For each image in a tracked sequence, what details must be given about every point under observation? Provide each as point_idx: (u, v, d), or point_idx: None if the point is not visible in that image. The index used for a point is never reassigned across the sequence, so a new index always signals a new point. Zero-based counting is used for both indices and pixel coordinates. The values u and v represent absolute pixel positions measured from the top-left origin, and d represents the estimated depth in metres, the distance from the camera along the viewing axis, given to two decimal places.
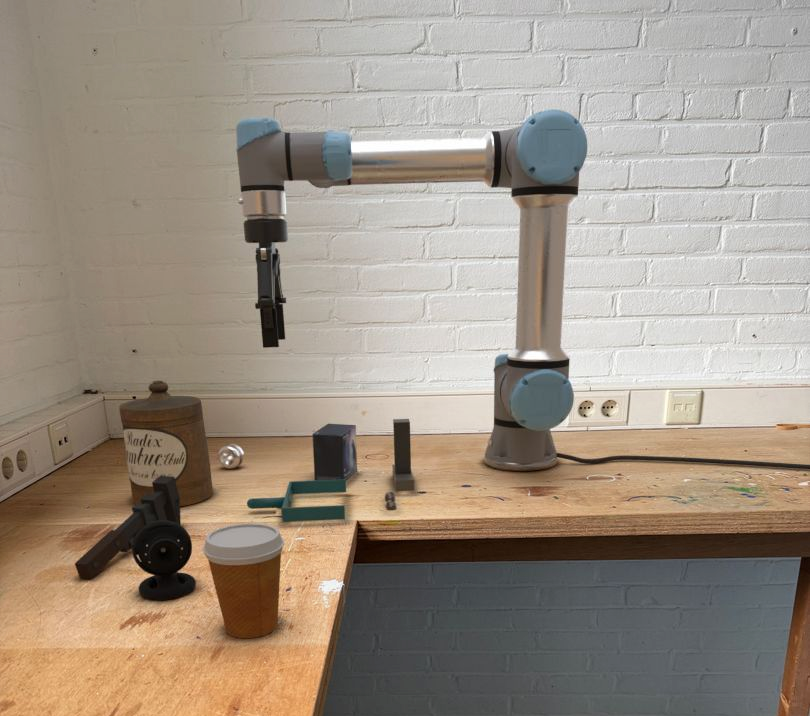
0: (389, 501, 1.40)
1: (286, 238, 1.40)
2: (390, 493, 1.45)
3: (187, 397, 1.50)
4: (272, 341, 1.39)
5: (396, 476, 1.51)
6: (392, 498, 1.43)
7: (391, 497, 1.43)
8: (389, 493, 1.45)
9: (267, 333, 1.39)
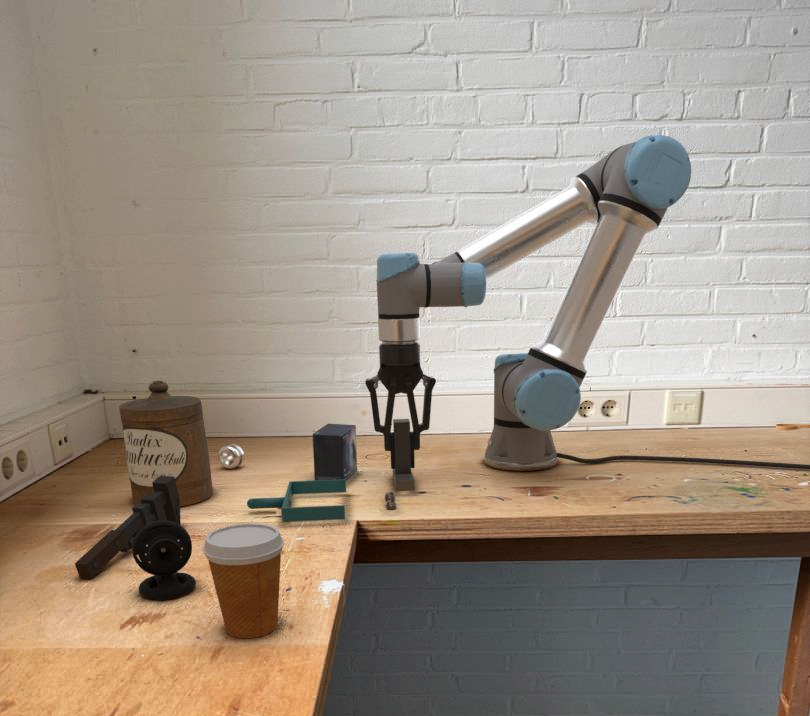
0: (389, 501, 1.40)
1: (395, 363, 1.44)
2: (390, 493, 1.45)
3: (187, 397, 1.50)
4: None
5: (396, 476, 1.51)
6: (392, 498, 1.43)
7: (391, 497, 1.43)
8: (389, 493, 1.45)
9: None
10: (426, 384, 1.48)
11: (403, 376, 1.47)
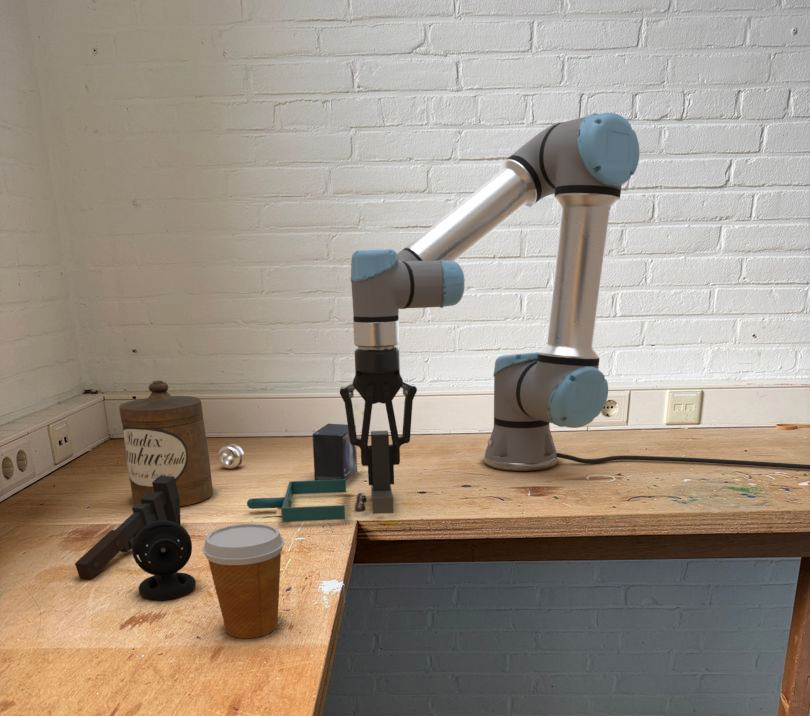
0: (359, 502, 1.40)
1: (372, 370, 1.31)
2: (364, 495, 1.45)
3: (187, 397, 1.50)
4: (368, 478, 1.40)
5: (374, 494, 1.38)
6: (364, 501, 1.43)
7: (364, 500, 1.43)
8: (363, 495, 1.45)
9: None
10: (406, 393, 1.35)
11: (381, 384, 1.34)
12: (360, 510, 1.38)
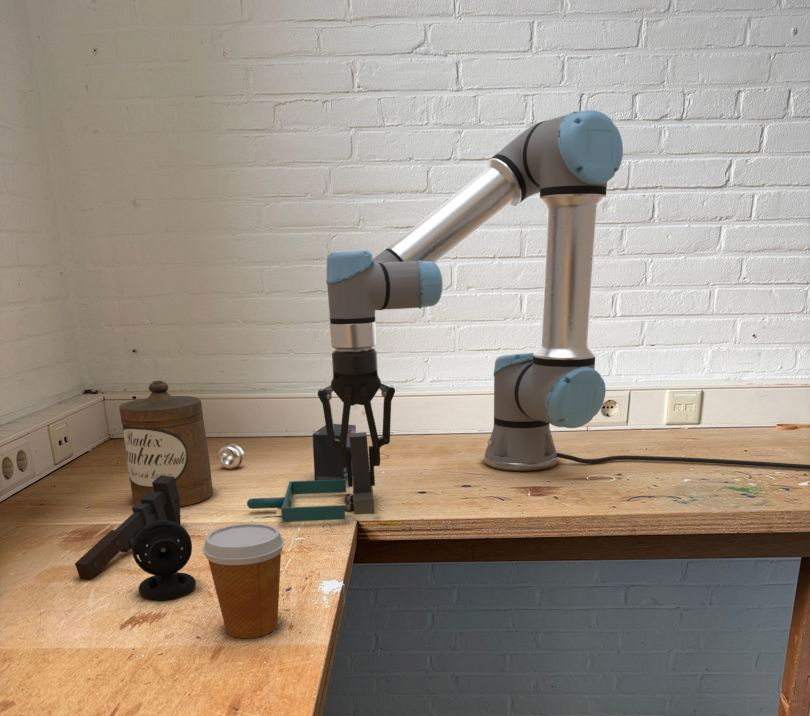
0: None
1: (349, 372, 1.31)
2: None
3: (187, 397, 1.50)
4: None
5: (355, 496, 1.38)
6: (346, 501, 1.43)
7: (345, 502, 1.43)
8: (344, 500, 1.45)
9: None
10: (384, 394, 1.35)
11: (359, 386, 1.34)
12: None
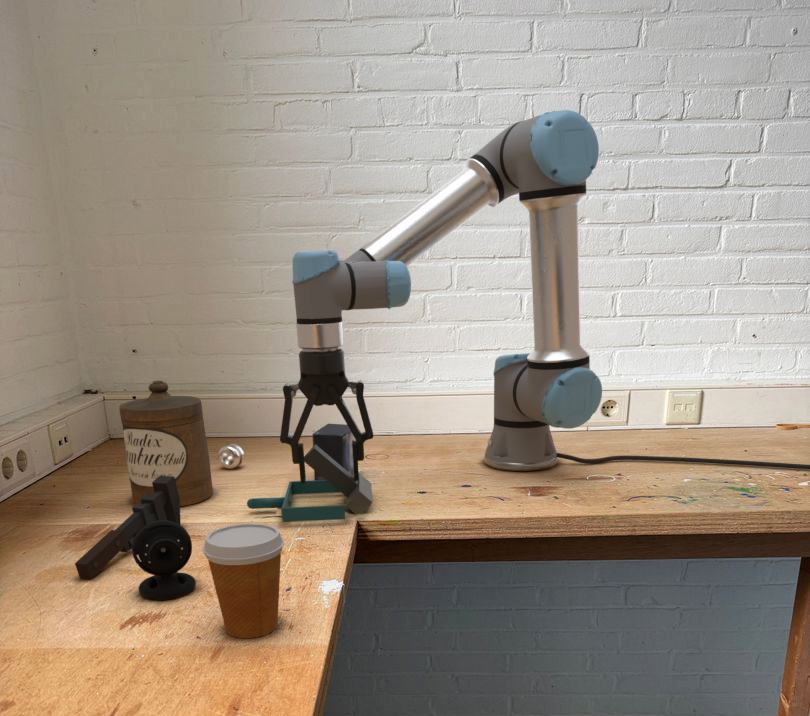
0: None
1: (315, 372, 1.31)
2: (345, 498, 1.45)
3: (187, 397, 1.50)
4: None
5: (347, 499, 1.38)
6: None
7: None
8: (345, 499, 1.45)
9: None
10: (354, 391, 1.34)
11: (326, 388, 1.34)
12: (348, 511, 1.38)
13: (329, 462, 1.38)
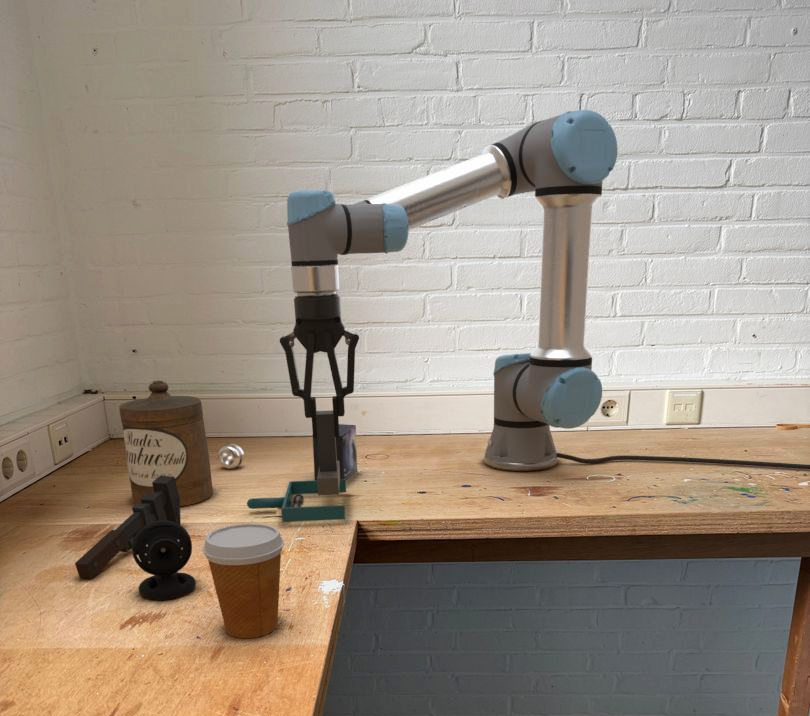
0: (299, 505, 1.39)
1: (311, 317, 1.28)
2: (302, 498, 1.44)
3: (187, 397, 1.50)
4: None
5: (320, 474, 1.37)
6: (301, 503, 1.42)
7: (301, 502, 1.42)
8: (301, 497, 1.44)
9: None
10: (348, 341, 1.32)
11: (322, 332, 1.31)
12: None
13: (333, 434, 1.36)
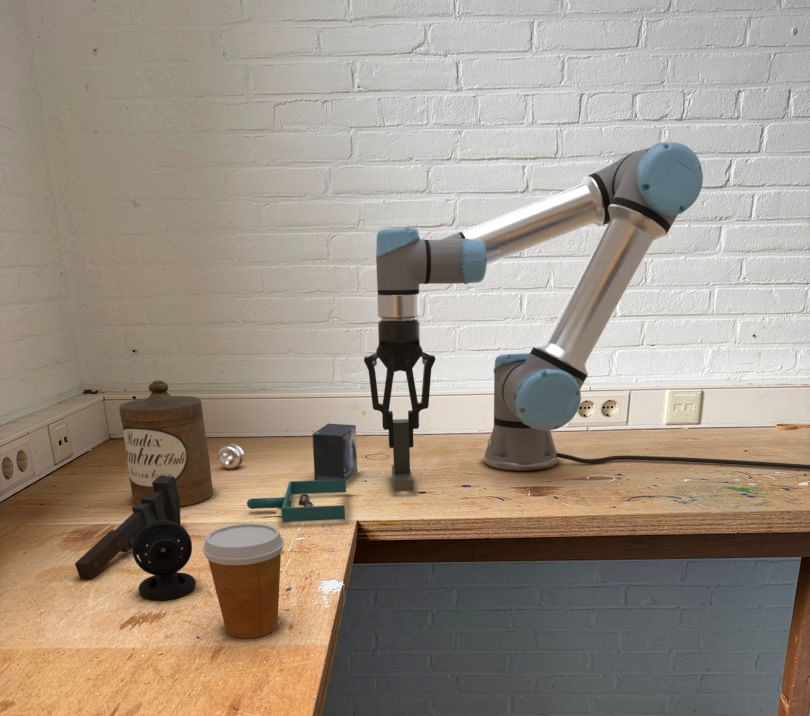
0: None
1: (394, 340, 1.42)
2: None
3: (187, 397, 1.50)
4: None
5: (396, 477, 1.51)
6: None
7: None
8: None
9: None
10: (425, 362, 1.46)
11: (402, 353, 1.46)
12: None
13: (408, 441, 1.51)
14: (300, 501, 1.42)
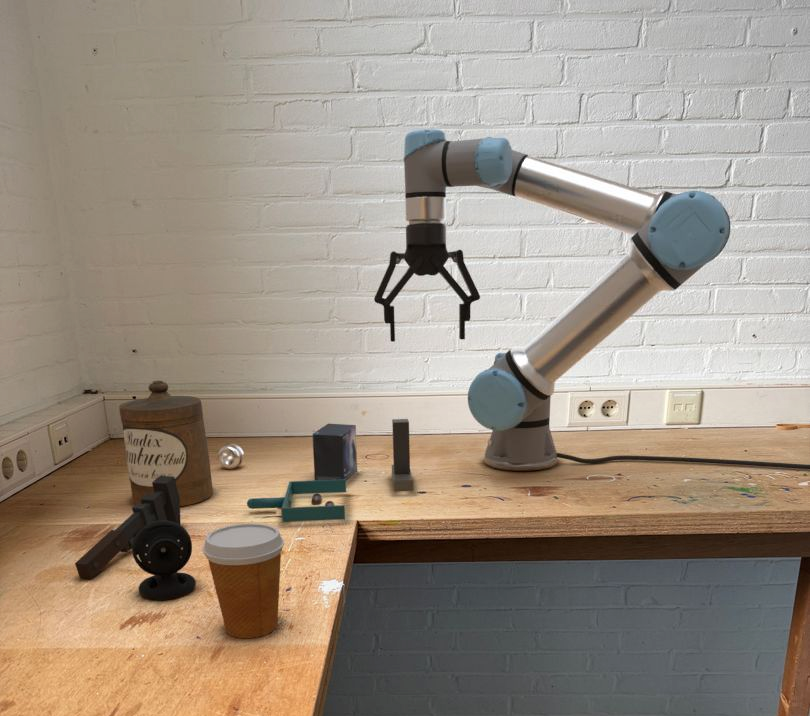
0: (333, 504, 1.40)
1: (422, 242, 1.46)
2: None
3: (187, 397, 1.50)
4: None
5: (395, 476, 1.51)
6: (312, 501, 1.42)
7: (312, 502, 1.43)
8: None
9: (390, 328, 1.55)
10: (455, 259, 1.50)
11: (429, 260, 1.50)
12: None
13: (408, 440, 1.51)
14: (320, 502, 1.43)
